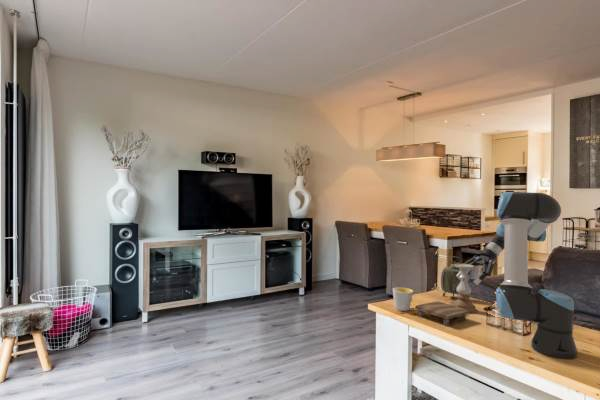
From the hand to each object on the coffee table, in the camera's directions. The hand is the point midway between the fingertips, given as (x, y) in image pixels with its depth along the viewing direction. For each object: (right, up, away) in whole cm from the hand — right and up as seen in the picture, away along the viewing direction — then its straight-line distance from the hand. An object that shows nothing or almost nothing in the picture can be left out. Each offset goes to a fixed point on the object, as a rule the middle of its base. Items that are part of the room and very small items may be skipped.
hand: (466, 280), depth 202 cm
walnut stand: (-19, -15, -17) cm, 30 cm away
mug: (-34, -15, -4) cm, 37 cm away
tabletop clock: (+2, -15, +21) cm, 26 cm away
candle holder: (-2, -16, -1) cm, 16 cm away
